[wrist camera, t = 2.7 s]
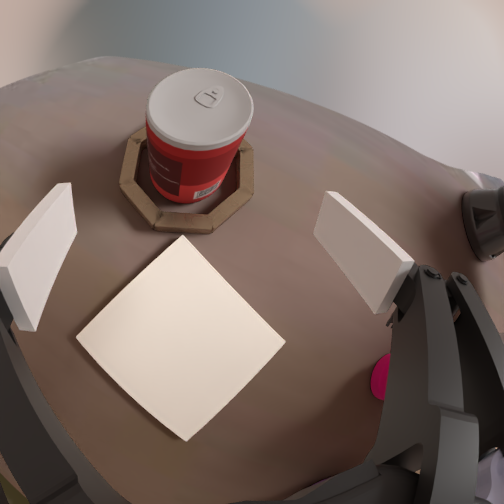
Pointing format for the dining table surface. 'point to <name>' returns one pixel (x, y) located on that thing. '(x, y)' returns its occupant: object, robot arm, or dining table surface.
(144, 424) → the dining table surface
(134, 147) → the wooden polygonal ring
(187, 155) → the canned food
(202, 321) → the coaster
